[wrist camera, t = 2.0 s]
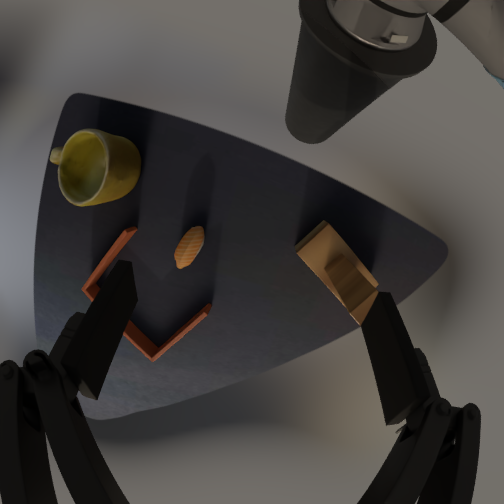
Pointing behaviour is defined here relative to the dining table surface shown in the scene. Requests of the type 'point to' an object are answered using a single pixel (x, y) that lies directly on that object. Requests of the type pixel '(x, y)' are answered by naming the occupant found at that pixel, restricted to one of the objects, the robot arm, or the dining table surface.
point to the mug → (96, 167)
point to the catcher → (131, 330)
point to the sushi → (189, 246)
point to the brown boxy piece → (339, 269)
